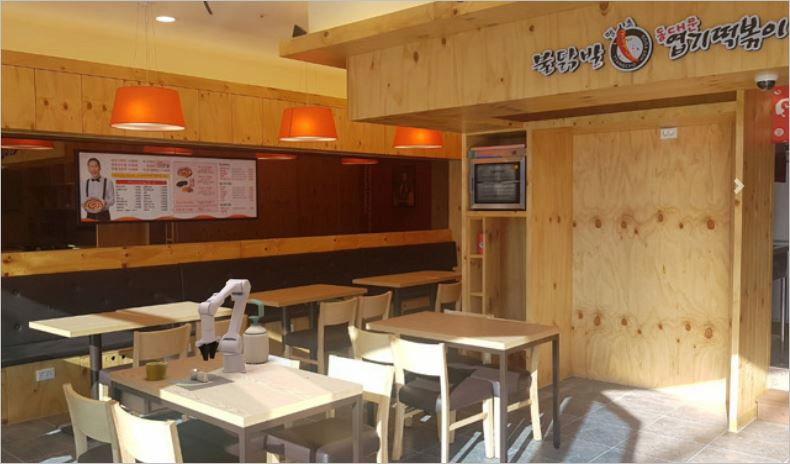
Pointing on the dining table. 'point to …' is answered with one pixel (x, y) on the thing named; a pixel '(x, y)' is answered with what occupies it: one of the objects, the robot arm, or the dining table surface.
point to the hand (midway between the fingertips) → (208, 359)
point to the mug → (156, 371)
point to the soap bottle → (256, 339)
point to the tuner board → (197, 384)
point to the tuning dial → (198, 375)
